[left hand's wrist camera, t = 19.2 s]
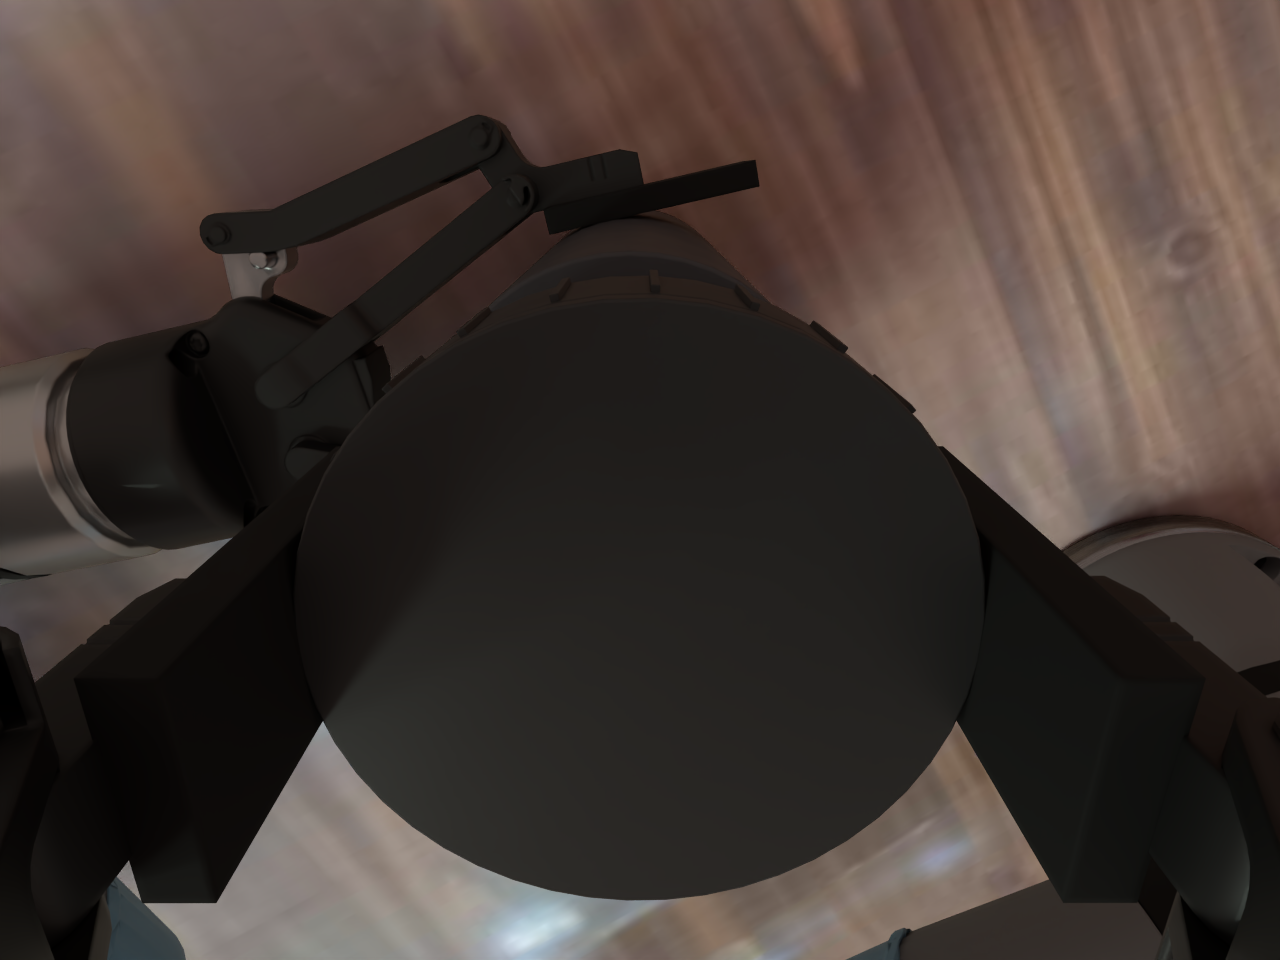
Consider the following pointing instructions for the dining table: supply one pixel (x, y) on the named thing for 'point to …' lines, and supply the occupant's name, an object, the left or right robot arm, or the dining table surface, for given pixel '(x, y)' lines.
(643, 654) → the lid
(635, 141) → the dining table surface
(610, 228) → the jar
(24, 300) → the dining table surface
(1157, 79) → the dining table surface
